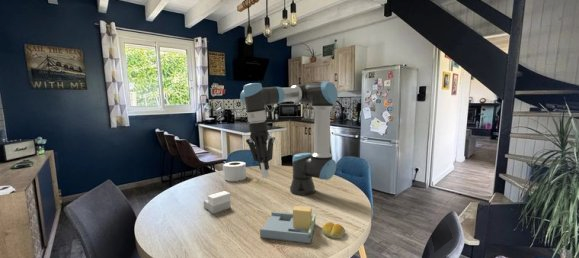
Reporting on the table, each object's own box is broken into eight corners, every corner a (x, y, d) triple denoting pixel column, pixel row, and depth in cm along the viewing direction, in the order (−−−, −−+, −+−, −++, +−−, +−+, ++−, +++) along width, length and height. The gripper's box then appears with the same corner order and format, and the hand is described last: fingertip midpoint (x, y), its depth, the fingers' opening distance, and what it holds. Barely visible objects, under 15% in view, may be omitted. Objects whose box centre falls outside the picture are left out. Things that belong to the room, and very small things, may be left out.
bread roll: (326, 226, 105) (326, 217, 105) (346, 232, 101) (347, 223, 100) (318, 235, 98) (318, 225, 98) (339, 241, 94) (339, 232, 93)
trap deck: (260, 238, 96) (260, 227, 96) (272, 219, 112) (271, 210, 111) (310, 244, 92) (310, 232, 91) (315, 223, 107) (315, 214, 107)
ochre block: (293, 227, 99) (292, 209, 99) (295, 222, 103) (295, 205, 103) (310, 229, 98) (310, 211, 97) (311, 224, 102) (311, 207, 101)
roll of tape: (228, 174, 184) (228, 161, 183) (248, 175, 183) (248, 161, 181) (220, 181, 169) (220, 166, 168) (242, 181, 167) (242, 166, 166)
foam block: (220, 203, 133) (220, 188, 132) (230, 208, 125) (230, 193, 125) (203, 208, 126) (203, 193, 125) (213, 214, 119) (212, 198, 118)
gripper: (239, 124, 99) (247, 179, 102) (266, 121, 93) (275, 180, 96) (249, 121, 105) (257, 173, 109) (275, 119, 100) (283, 174, 103)
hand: (265, 176), depth 102 cm, fingers closed
